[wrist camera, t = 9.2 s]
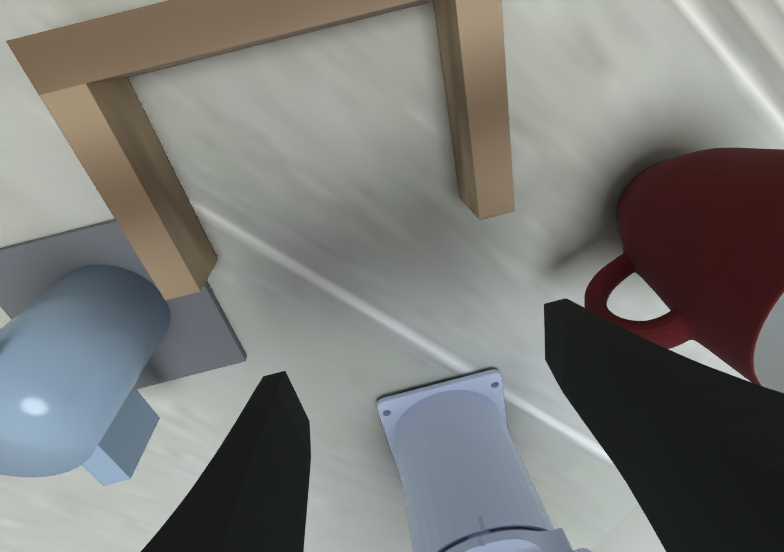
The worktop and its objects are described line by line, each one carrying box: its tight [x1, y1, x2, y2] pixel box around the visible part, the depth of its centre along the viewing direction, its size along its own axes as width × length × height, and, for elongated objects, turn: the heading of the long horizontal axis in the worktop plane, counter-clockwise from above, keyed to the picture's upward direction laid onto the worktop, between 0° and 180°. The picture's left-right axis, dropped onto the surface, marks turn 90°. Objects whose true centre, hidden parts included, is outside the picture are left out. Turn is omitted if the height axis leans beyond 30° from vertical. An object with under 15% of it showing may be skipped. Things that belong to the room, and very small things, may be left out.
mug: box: [585, 148, 784, 393], centre depth 17 cm, size 11×8×10 cm
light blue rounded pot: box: [0, 265, 170, 486], centre depth 17 cm, size 8×5×7 cm, turn 14°
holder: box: [6, 0, 514, 300], centre depth 16 cm, size 10×15×3 cm, turn 102°
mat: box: [0, 219, 247, 389], centre depth 20 cm, size 9×9×1 cm
